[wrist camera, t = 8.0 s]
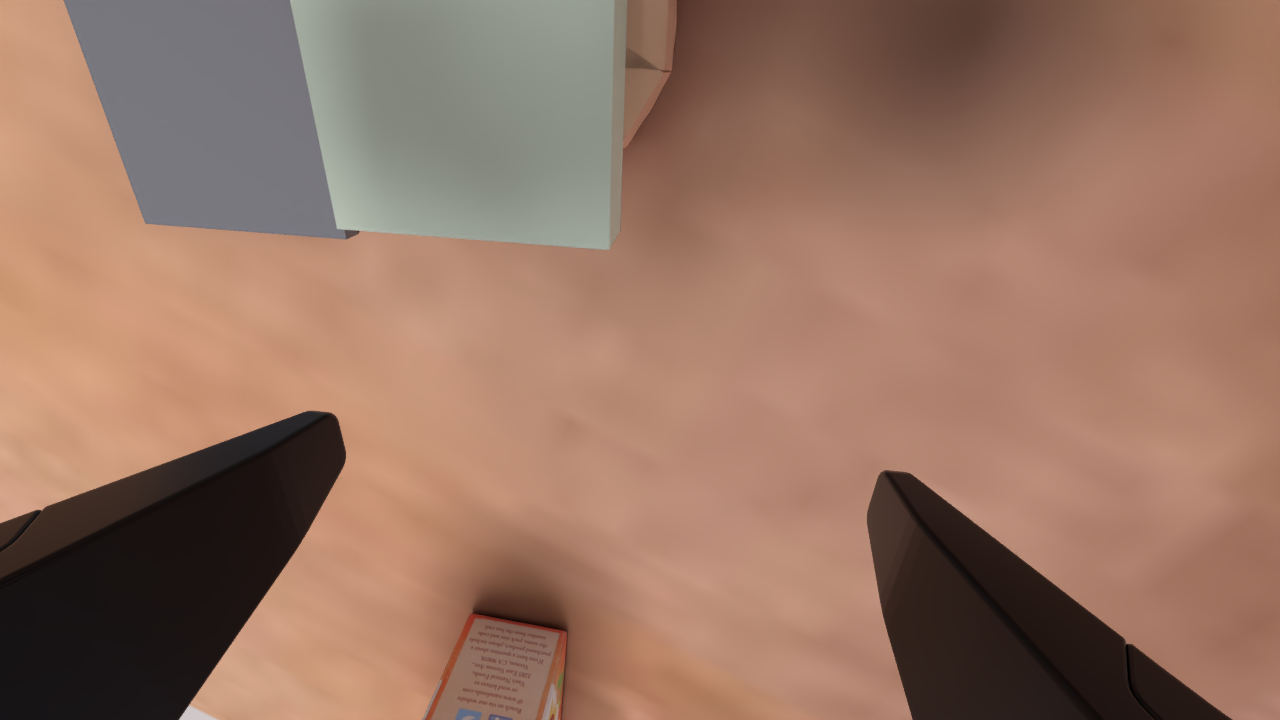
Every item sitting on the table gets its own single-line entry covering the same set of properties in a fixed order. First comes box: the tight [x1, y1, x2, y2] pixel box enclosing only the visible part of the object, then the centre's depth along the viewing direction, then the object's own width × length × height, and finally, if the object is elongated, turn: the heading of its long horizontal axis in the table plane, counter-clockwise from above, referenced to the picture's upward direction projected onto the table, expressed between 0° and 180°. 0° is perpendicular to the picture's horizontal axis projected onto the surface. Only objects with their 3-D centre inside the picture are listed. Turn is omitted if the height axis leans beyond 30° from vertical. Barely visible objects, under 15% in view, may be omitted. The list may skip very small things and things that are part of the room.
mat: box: [64, 0, 358, 239], centre depth 19 cm, size 8×12×1 cm
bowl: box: [623, 0, 677, 149], centre depth 15 cm, size 9×9×4 cm
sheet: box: [290, 0, 627, 250], centre depth 13 cm, size 7×10×2 cm
